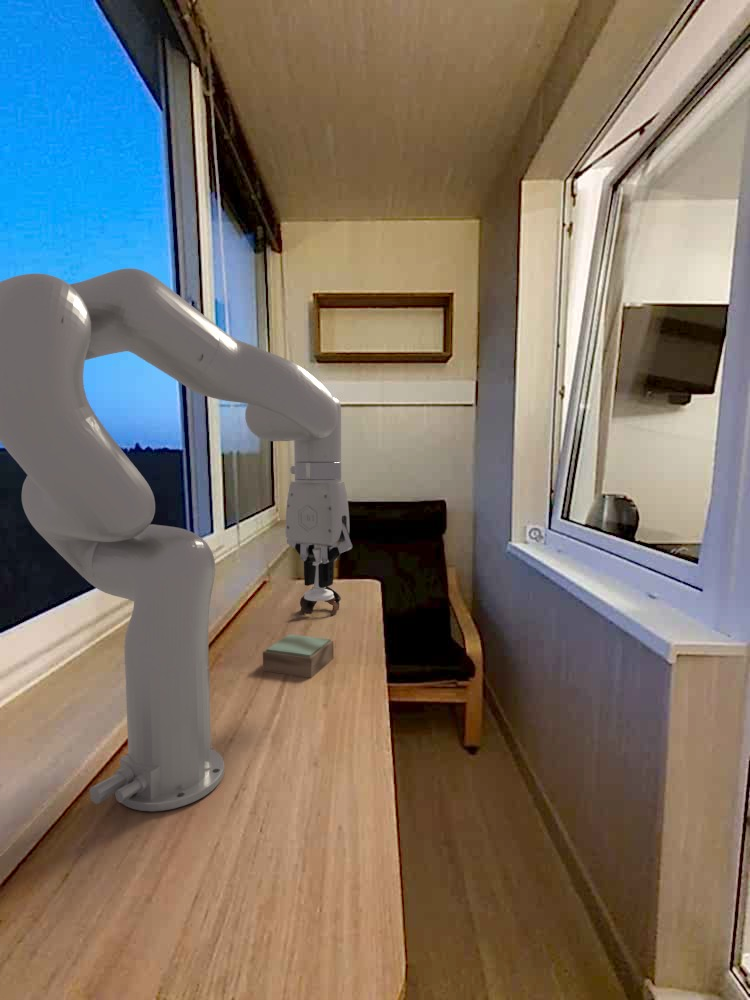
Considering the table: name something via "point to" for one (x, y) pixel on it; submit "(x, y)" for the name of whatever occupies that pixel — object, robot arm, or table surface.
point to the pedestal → (298, 655)
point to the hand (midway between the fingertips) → (318, 584)
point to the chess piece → (316, 591)
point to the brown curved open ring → (309, 605)
